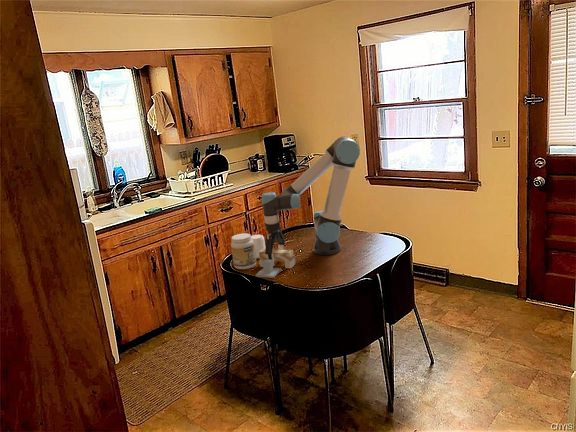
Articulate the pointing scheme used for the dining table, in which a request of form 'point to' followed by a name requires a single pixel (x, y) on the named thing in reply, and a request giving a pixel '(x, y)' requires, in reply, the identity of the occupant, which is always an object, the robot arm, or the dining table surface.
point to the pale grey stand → (268, 270)
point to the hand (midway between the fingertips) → (277, 260)
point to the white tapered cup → (258, 244)
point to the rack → (287, 263)
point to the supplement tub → (243, 251)
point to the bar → (278, 255)
